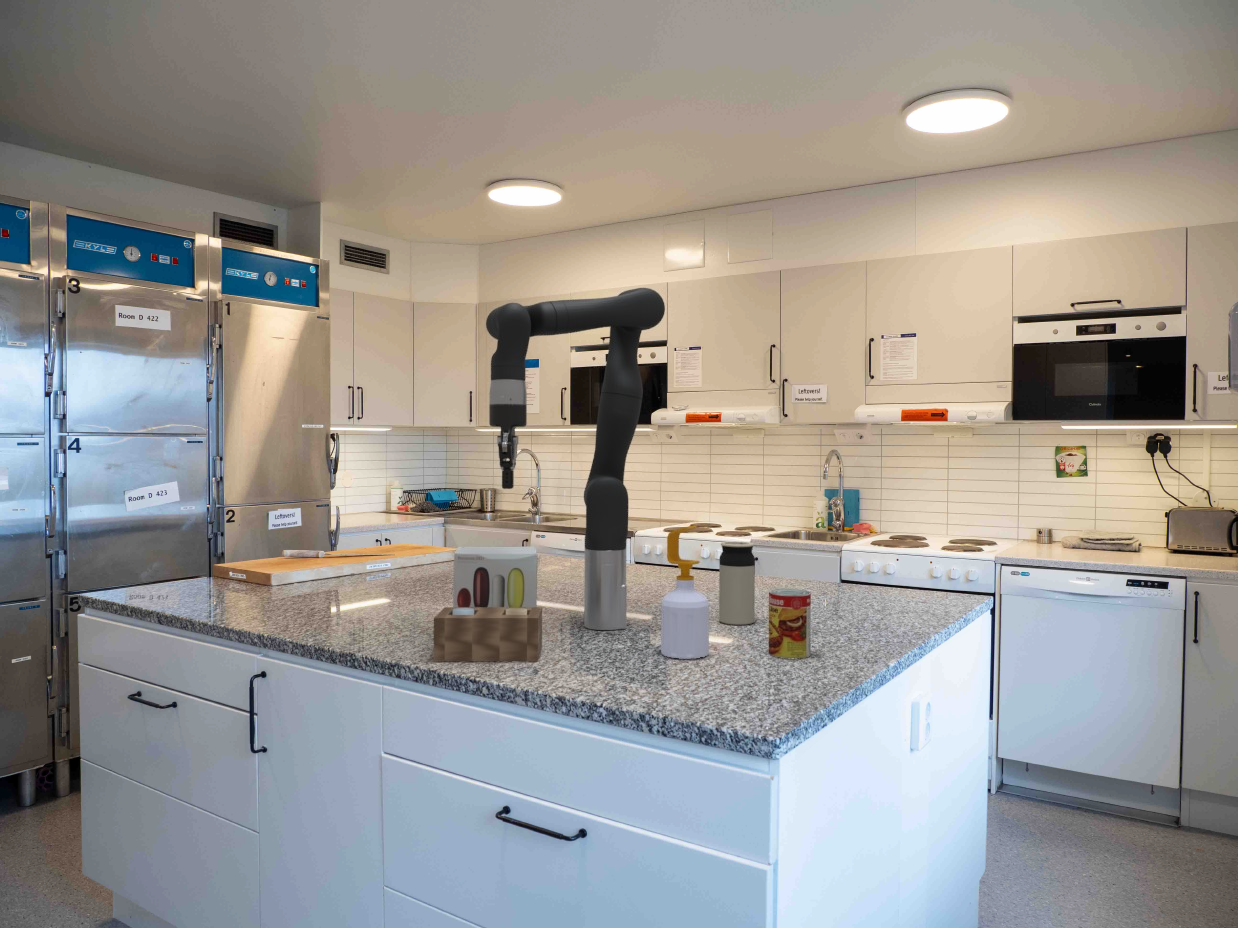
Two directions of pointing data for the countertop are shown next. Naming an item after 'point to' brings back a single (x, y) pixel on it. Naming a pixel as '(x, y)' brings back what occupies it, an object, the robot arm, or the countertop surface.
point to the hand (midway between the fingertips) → (507, 488)
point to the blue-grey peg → (463, 611)
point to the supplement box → (495, 577)
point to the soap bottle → (684, 610)
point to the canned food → (789, 623)
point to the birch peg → (516, 611)
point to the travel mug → (737, 583)
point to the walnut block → (488, 635)
